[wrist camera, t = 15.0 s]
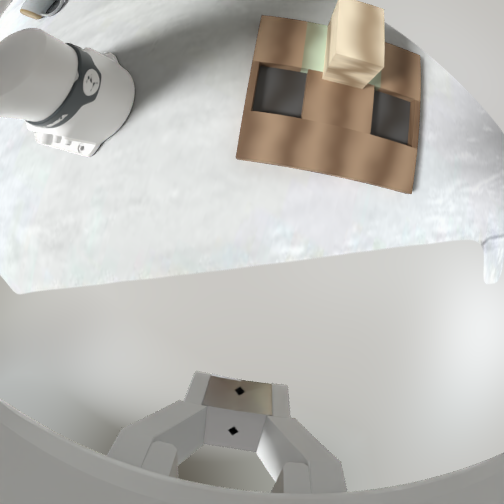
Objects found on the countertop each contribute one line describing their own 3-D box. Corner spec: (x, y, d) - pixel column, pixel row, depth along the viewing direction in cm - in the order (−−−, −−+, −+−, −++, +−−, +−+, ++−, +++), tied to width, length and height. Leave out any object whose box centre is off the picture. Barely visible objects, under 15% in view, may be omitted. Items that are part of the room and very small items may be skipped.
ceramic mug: (30, 19, 33) (12, 10, 26) (50, -7, 32) (34, -19, 24) (51, 23, 34) (31, 12, 27) (73, -5, 33) (56, -19, 25)
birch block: (322, 79, 35) (335, 53, 26) (327, 26, 33) (339, -4, 24) (362, 89, 35) (384, 67, 26) (365, 36, 32) (383, 9, 24)
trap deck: (237, 159, 40) (235, 158, 38) (261, 21, 35) (261, 15, 33) (405, 193, 39) (411, 193, 38) (415, 59, 34) (420, 55, 32)
